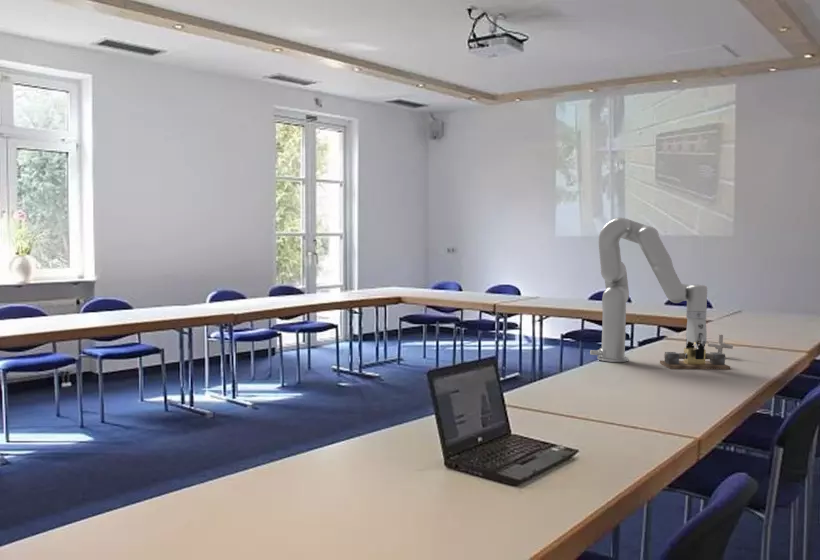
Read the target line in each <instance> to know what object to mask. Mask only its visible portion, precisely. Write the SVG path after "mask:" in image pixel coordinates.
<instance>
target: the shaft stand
mask: <svg viewBox="0 0 820 560" xmlns="http://www.w3.org/2000/svg"><path fill="white" fill-rule="evenodd" d="M663 356H664V357H663V358H664V360H659V364H661V365H662V366H664V367H666V368H668V369H670V370H731V366H730V365H728V364H726V354H725V353H723V352H722V353H720V352H718V351H716V352H715V351H714V352H711V351H710V352H709V353H708V352H707V353H706V355H705V365H701V364H686V363H684V359H685V353H684V352H676V351H664V355H663Z"/></svg>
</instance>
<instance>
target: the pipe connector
mask: <svg viewBox="0 0 820 560" xmlns="http://www.w3.org/2000/svg"><path fill="white" fill-rule="evenodd" d="M717 338H718V340H717V342H710V341H709V342H708V343H707V346H708V347H710V348H715V350H717V352H720V353H723V349H728V350H729V349H731V350H733V348H734V345H733V344H731V343H730V344H728V343H725V342H724V334H721V333H719V334H718V337H717Z"/></svg>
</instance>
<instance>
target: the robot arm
mask: <svg viewBox="0 0 820 560" xmlns="http://www.w3.org/2000/svg"><path fill="white" fill-rule="evenodd" d="M621 239H623V240H627V241H629V242H632V243H636V244H638V245H639V247H640V249H641V251H642V252H643V255H644V256H645V258H646V260H647V262H648V264H649V265H650V267H651V269H652V272H653V274H654V275H655V277H656V280H657V281H658V283H659V285H660V287H661V289H662V291H663V293H664V295H665V297H666V298H667V299H668V300H669V301H670V302H671V303H673V304H679V303H682V302H685V301H686V317H685V318H686V319H687V320H686V321H687V322H686V331H685V348H697V349H696V354H695V359H704V349H705V347H706V344H707V341H708V339H707V337H708V336H707V331H708V330H707V309H708V308H707V307H708V306H707V305H708V304H707V303H708V287H707V286H706V285H705V284H685V283H682V282H681V279H680V278H679V276H678V274H677V272H676V270H675V268H674V267H675V266H673V265H674V264H673V262H672V258H671V256H670V254H669V252H668V250H667V249H666V247H665V245H664V243H663V241H662V239H661V237H660V234H659V232H658V230H657V229H656V228H655V227H653V226H650V225H646V224H644V223H640V222H637V221H634V220H631V219H628V218H625V217H615V218H613V219H610V220H609V221H608V222H607V223H605V225H604V226H603V227H602V228H601V230H600V232H599V235H598V251H599V262H600V274H601V277H602V278H603V280H604V284H605V289H604V291H603V293H602V298H601V306H602V307H601V309H602V319H601V320H602V325H601V327H602V329H601V331H602V332H601V347H600V348H599V349H597V350H595V349H592V350H591V349H590V351H589V354H590V355H591V356H592V355H593V356H597V360H599V361H603V362H611V363H624V362H625V363H626V362H628V361H629V357H628V356H625V353H626V351H625V350H626V328H627V327H626V326H627V325H626V321H627V302H628V301H629V298H630V290H629V283H628V282H629V281H628V274H627V268H626V265H625V263H624V262H623V261H622V257H621V255H622V254H621V248H620V240H621ZM705 350H706V349H705Z"/></svg>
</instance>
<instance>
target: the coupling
mask: <svg viewBox="0 0 820 560" xmlns="http://www.w3.org/2000/svg"><path fill="white" fill-rule="evenodd" d="M696 349H697V348H696V347H694V348H686V347H684V348H683V353H685V359H683V361H684V363H686V364H701V365H705V361H706V359H705V355H706V352H707V350H706V349H704V359H695V354H696Z"/></svg>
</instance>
